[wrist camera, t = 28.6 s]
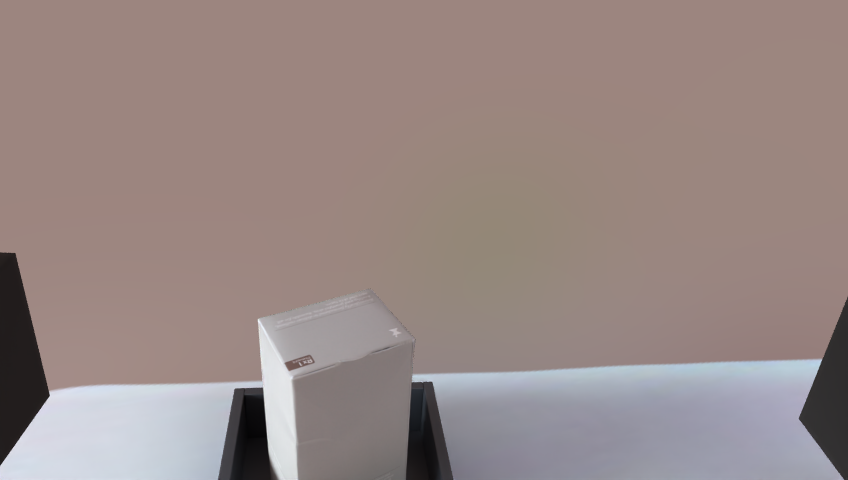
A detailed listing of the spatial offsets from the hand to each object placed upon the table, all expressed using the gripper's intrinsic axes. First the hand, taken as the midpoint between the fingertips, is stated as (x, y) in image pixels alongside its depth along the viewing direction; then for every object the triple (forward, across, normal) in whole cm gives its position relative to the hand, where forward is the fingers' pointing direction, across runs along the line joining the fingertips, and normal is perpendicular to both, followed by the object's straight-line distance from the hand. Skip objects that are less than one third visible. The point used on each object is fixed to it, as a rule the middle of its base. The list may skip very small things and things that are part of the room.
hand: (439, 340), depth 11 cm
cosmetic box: (+26, -4, -33) cm, 43 cm away
